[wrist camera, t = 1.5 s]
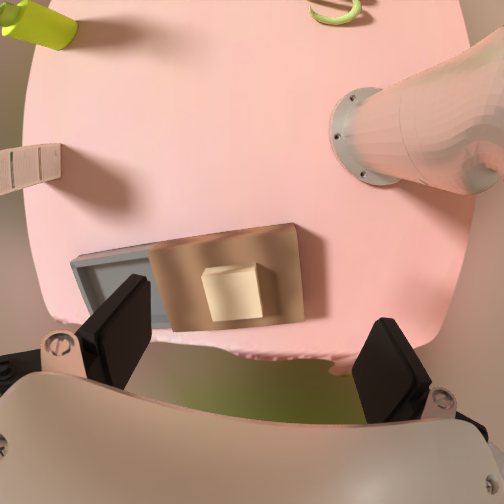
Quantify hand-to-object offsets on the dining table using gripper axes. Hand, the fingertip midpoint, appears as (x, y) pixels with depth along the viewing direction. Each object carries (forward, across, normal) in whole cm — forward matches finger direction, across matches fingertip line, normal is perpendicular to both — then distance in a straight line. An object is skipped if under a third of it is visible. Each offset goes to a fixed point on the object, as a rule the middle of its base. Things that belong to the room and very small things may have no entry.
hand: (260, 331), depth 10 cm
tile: (+20, +2, +9) cm, 22 cm away
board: (+24, +3, +10) cm, 26 cm away
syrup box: (+24, +34, -3) cm, 42 cm away
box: (+24, +18, +15) cm, 34 cm away
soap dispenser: (+24, +37, -25) cm, 51 cm away
